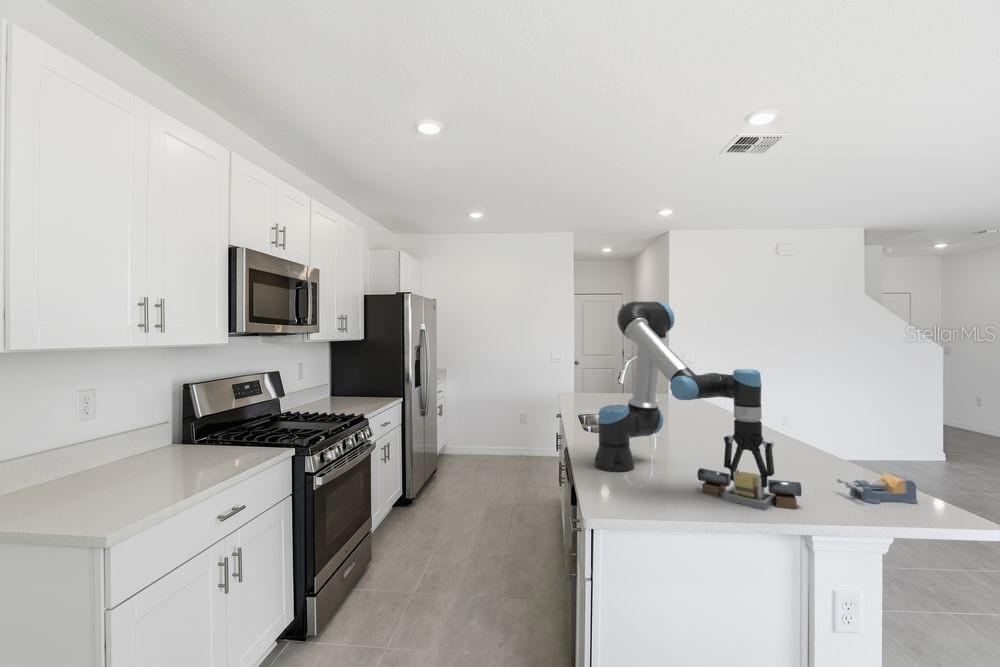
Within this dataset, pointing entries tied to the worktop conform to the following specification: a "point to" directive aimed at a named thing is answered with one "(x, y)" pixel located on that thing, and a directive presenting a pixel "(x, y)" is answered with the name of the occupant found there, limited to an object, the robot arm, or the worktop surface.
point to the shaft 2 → (784, 493)
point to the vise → (883, 490)
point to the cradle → (767, 498)
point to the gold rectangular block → (747, 485)
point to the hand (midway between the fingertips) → (748, 494)
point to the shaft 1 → (713, 481)
